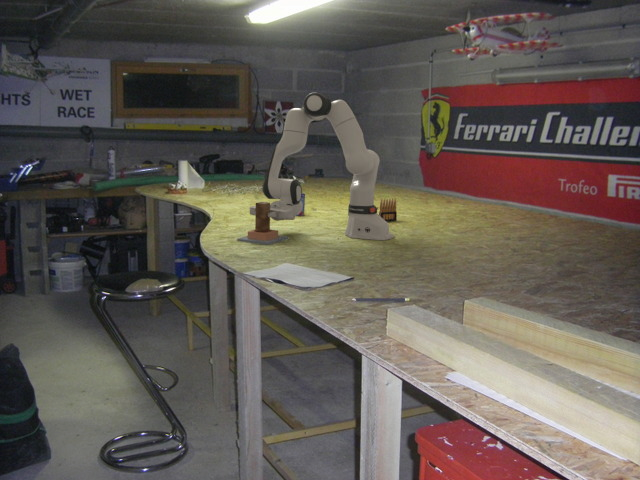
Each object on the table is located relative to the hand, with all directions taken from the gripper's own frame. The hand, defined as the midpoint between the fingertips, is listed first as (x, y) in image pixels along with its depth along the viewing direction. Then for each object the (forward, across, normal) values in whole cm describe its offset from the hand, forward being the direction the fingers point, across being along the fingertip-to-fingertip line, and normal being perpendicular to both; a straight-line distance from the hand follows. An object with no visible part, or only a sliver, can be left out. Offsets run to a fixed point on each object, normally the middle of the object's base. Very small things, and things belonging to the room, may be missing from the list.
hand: (261, 214), depth 270 cm
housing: (-1, 0, +11) cm, 11 cm away
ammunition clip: (-82, +25, +12) cm, 86 cm away
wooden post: (-1, 0, +7) cm, 7 cm away
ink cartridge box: (-72, -25, +12) cm, 77 cm away
